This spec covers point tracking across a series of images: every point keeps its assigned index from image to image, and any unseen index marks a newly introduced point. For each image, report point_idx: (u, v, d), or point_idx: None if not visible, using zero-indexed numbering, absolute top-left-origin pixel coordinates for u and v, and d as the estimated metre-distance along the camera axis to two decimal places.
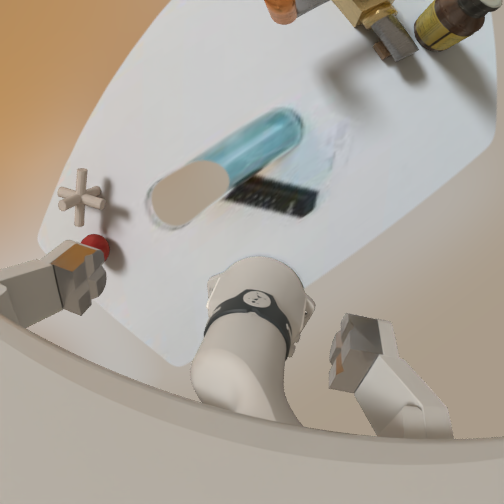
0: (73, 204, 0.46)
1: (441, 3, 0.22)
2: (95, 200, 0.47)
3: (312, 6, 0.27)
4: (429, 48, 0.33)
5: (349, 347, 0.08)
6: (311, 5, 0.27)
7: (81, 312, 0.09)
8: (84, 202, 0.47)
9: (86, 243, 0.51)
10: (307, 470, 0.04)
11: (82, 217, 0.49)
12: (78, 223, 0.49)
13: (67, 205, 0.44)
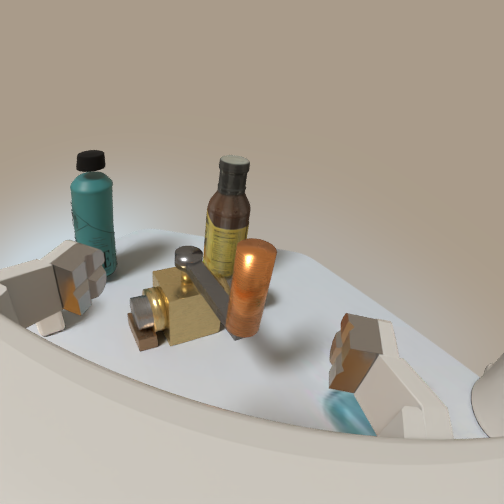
0: None
1: (227, 214, 0.43)
2: None
3: None
4: None
5: (349, 347, 0.08)
6: None
7: (81, 312, 0.09)
8: None
9: None
10: (307, 470, 0.04)
11: None
12: None
13: None
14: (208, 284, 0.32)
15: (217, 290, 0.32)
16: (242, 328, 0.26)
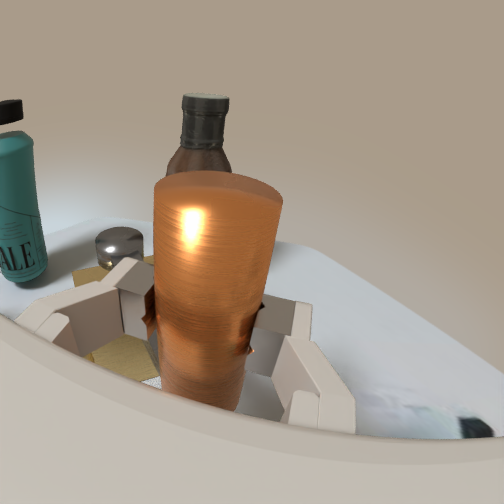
0: None
1: None
2: None
3: None
4: None
5: (254, 326, 0.08)
6: None
7: (147, 337, 0.09)
8: None
9: None
10: (306, 469, 0.04)
11: None
12: None
13: None
14: None
15: None
16: None
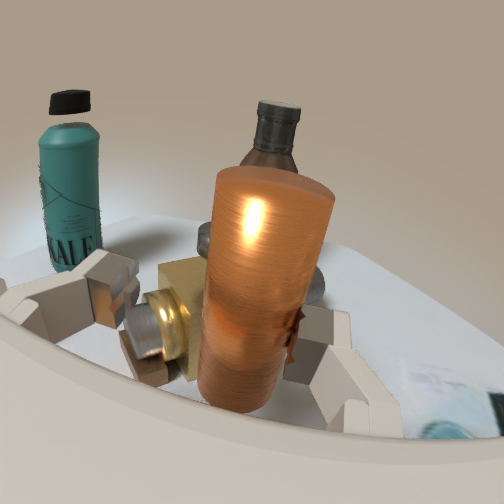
0: None
1: None
2: None
3: None
4: None
5: (297, 336, 0.08)
6: None
7: (116, 326, 0.09)
8: None
9: None
10: (307, 470, 0.04)
11: None
12: None
13: None
14: None
15: None
16: (216, 391, 0.10)
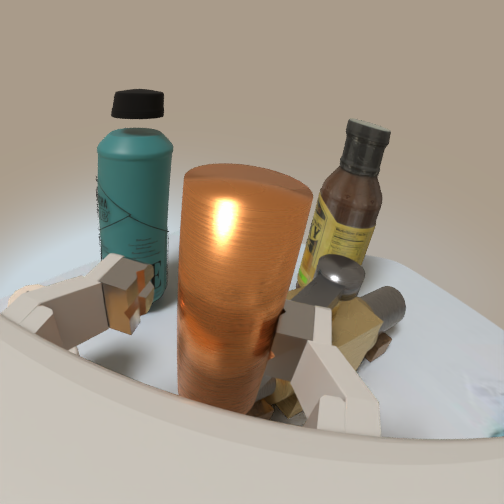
0: None
1: (361, 204, 0.27)
2: None
3: None
4: None
5: (276, 331, 0.08)
6: None
7: (131, 331, 0.09)
8: None
9: None
10: (306, 469, 0.04)
11: None
12: None
13: None
14: None
15: None
16: (178, 376, 0.10)
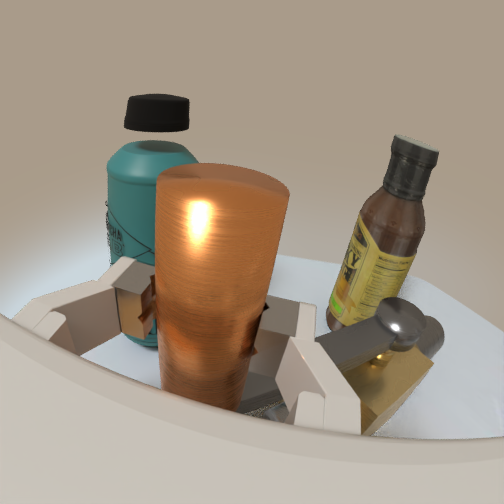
0: None
1: (408, 232, 0.23)
2: None
3: None
4: None
5: None
6: None
7: (144, 336, 0.09)
8: None
9: None
10: (307, 470, 0.04)
11: None
12: None
13: None
14: (329, 345, 0.14)
15: None
16: None
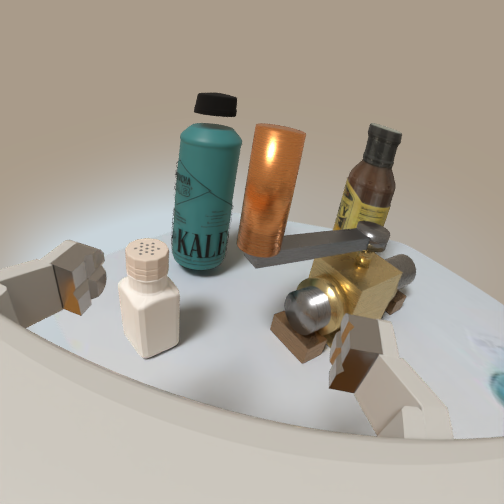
0: None
1: (381, 188, 0.34)
2: None
3: (303, 250, 0.23)
4: None
5: (349, 347, 0.08)
6: (303, 246, 0.23)
7: (81, 312, 0.09)
8: None
9: None
10: (307, 470, 0.04)
11: None
12: None
13: None
14: (327, 235, 0.25)
15: (318, 239, 0.24)
16: (239, 227, 0.21)
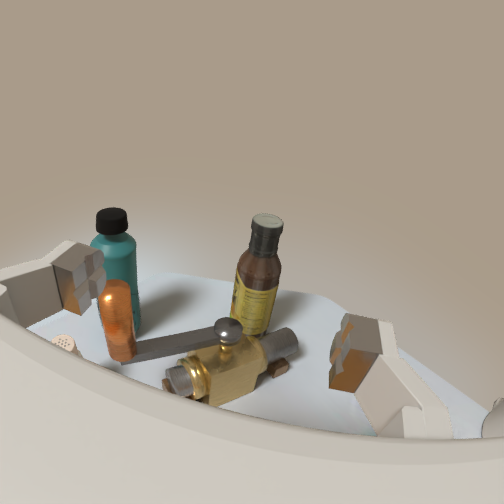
0: None
1: (260, 276, 0.42)
2: None
3: (155, 353, 0.31)
4: None
5: (349, 347, 0.08)
6: (154, 350, 0.30)
7: (81, 312, 0.09)
8: None
9: None
10: (306, 470, 0.04)
11: None
12: None
13: None
14: (180, 338, 0.33)
15: (170, 343, 0.32)
16: None
